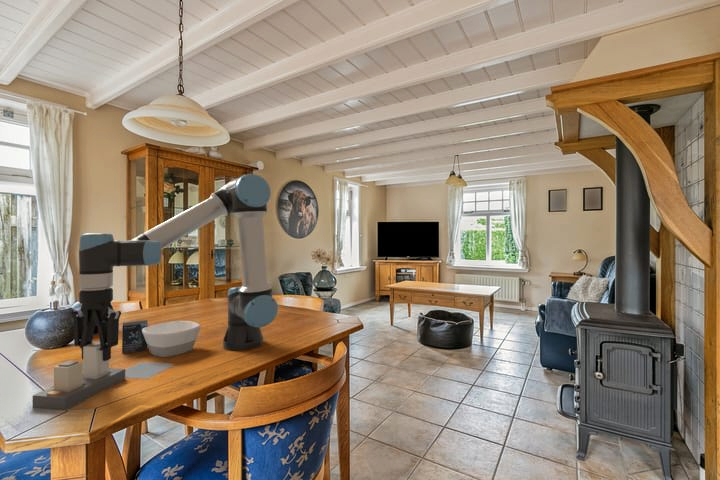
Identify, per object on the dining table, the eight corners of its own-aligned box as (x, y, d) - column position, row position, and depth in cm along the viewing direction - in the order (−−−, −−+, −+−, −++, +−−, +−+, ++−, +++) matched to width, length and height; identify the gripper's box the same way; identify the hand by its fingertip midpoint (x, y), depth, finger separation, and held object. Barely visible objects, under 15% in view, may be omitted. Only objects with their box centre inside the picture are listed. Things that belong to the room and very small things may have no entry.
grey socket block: (125, 380, 100) (125, 367, 100) (64, 412, 82) (64, 395, 82) (98, 379, 101) (98, 365, 101) (32, 409, 83) (32, 393, 83)
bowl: (159, 364, 113) (159, 336, 113) (133, 354, 122) (133, 328, 122) (208, 349, 128) (208, 325, 128) (181, 341, 138) (181, 318, 137)
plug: (108, 374, 97) (108, 341, 97) (96, 380, 93) (96, 346, 93) (96, 373, 98) (96, 341, 98) (83, 379, 94) (83, 345, 94)
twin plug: (82, 396, 89) (82, 360, 89) (67, 403, 85) (67, 366, 85) (69, 395, 90) (69, 359, 90) (54, 402, 86) (53, 365, 86)
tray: (175, 365, 112) (175, 363, 112) (147, 380, 100) (148, 378, 100) (142, 363, 114) (142, 361, 114) (111, 378, 102) (111, 376, 102)
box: (122, 355, 122) (122, 325, 121) (122, 350, 126) (122, 322, 126) (147, 351, 126) (147, 322, 126) (147, 347, 131) (147, 319, 130)
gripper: (134, 287, 98) (134, 367, 98) (82, 285, 100) (81, 364, 100) (112, 291, 91) (112, 378, 91) (56, 289, 93) (56, 374, 93)
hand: (96, 371), depth 96 cm, fingers closed on plug, 4 cm apart
